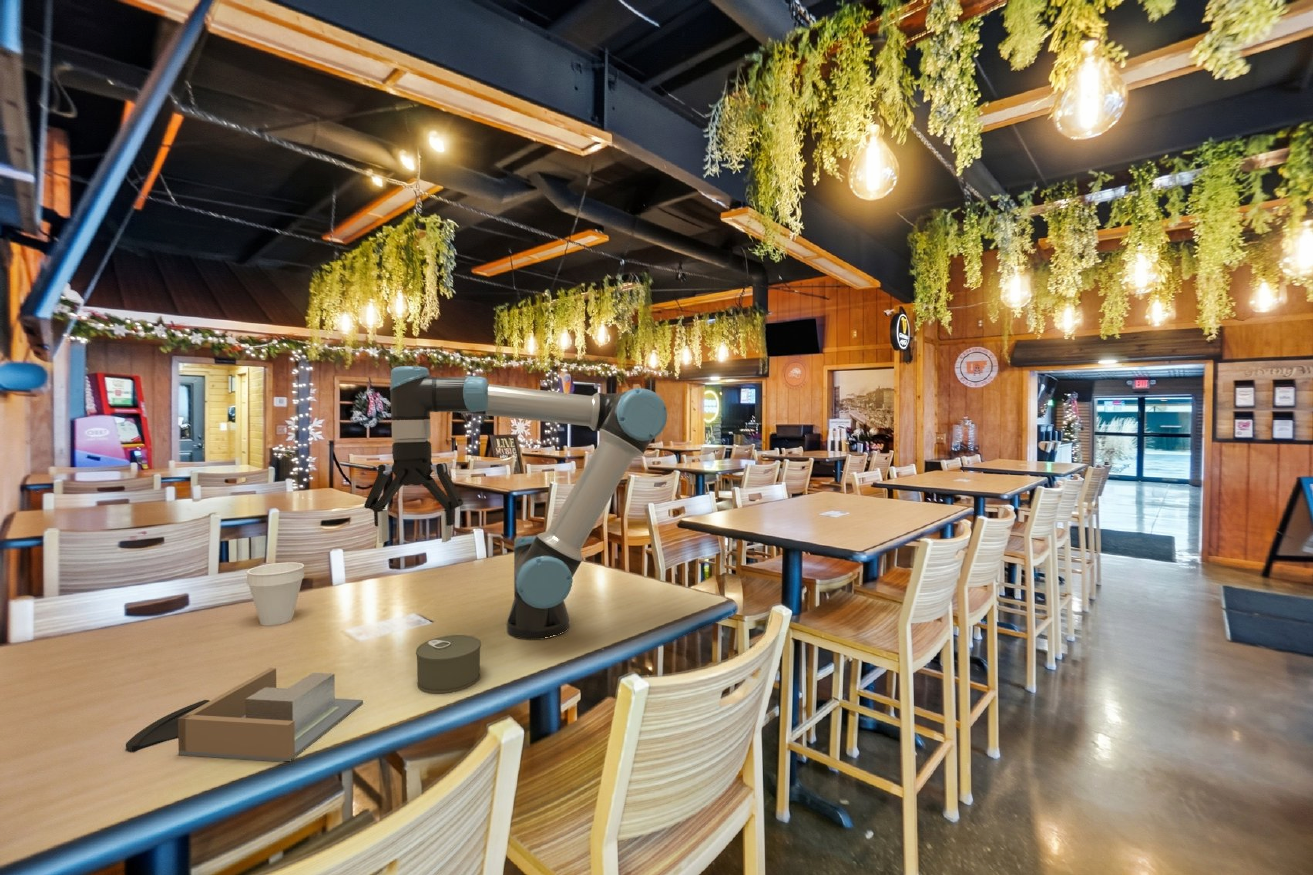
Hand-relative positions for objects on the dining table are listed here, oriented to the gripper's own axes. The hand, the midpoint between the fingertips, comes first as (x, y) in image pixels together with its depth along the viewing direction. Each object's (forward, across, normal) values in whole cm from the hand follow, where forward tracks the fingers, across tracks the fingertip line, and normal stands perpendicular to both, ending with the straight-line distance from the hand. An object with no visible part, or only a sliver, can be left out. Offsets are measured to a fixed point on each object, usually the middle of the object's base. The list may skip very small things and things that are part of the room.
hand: (415, 541), depth 120 cm
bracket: (+25, +9, +26) cm, 37 cm away
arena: (+25, +11, +27) cm, 38 cm away
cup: (+25, +48, -22) cm, 58 cm away
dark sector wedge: (+26, +28, +27) cm, 47 cm away
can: (+26, -10, +8) cm, 29 cm away
